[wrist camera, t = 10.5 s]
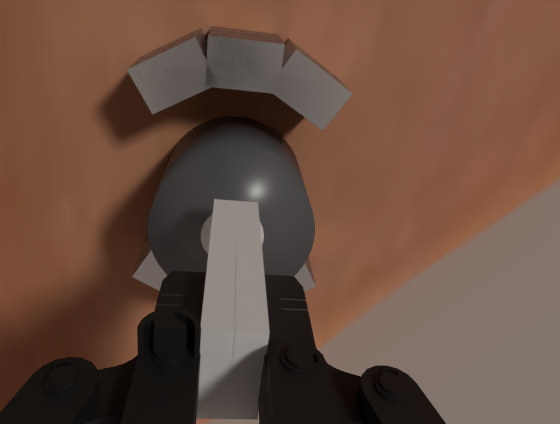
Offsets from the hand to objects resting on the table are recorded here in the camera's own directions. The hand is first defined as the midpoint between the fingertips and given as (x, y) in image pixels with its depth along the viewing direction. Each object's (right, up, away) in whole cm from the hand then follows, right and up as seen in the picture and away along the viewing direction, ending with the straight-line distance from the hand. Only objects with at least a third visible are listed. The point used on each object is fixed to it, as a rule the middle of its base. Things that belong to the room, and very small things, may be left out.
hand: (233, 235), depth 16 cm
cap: (-1, +2, +6) cm, 6 cm away
